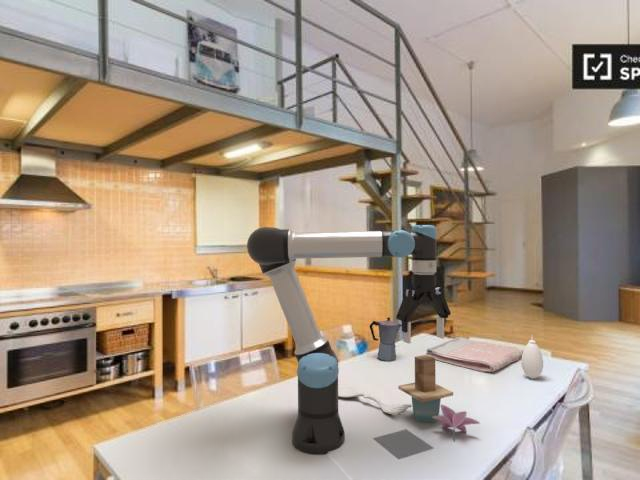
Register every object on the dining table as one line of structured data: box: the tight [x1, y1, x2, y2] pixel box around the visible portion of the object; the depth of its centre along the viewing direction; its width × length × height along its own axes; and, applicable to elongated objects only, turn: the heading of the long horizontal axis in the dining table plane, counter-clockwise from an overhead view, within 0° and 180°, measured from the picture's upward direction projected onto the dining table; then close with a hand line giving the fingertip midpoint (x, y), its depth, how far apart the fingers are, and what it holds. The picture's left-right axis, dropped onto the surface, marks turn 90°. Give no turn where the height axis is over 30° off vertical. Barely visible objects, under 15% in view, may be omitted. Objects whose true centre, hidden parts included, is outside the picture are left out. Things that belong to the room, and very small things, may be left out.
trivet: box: [372, 428, 434, 460], centre depth 110 cm, size 12×12×1 cm
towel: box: [425, 336, 524, 373], centre depth 189 cm, size 36×34×6 cm
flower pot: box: [411, 396, 442, 424], centre depth 125 cm, size 9×9×9 cm
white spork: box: [338, 383, 412, 416], centre depth 138 cm, size 9×32×4 cm, turn 45°
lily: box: [432, 404, 481, 442], centre depth 114 cm, size 12×12×10 cm
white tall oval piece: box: [521, 335, 544, 380], centre depth 161 cm, size 8×8×18 cm
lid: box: [397, 354, 454, 402], centre depth 125 cm, size 12×12×11 cm
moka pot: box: [369, 316, 402, 362], centre depth 189 cm, size 10×15×20 cm, turn 89°
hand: (424, 340), depth 125 cm, fingers open, 13 cm apart
